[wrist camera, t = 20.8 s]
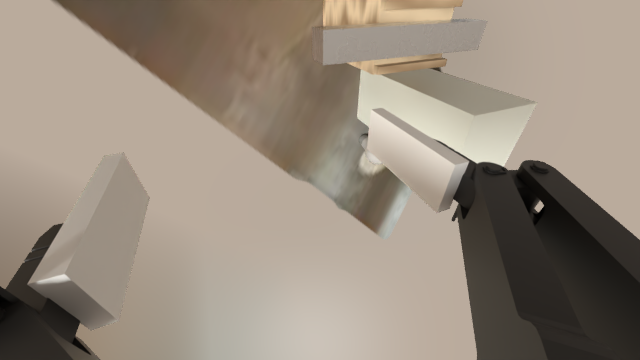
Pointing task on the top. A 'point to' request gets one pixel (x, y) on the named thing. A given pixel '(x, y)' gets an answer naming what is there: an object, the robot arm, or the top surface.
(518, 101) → the unit
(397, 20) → the light brown boxy piece
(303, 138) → the top surface
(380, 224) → the top surface
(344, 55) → the rail
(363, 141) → the white rounded knobbed part
